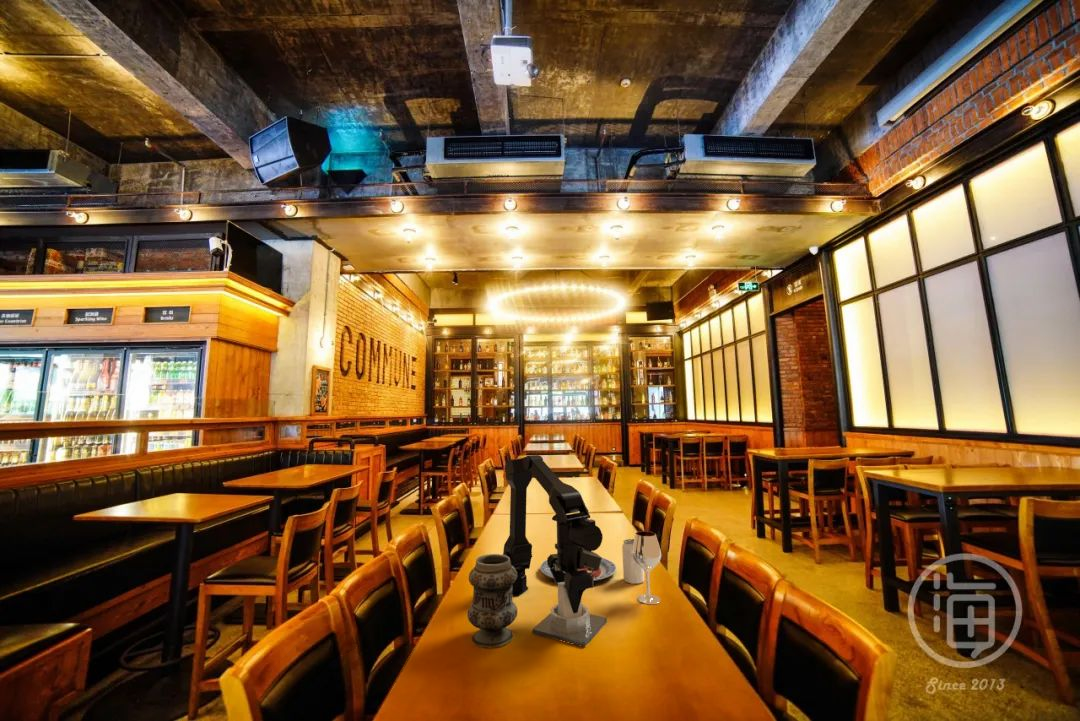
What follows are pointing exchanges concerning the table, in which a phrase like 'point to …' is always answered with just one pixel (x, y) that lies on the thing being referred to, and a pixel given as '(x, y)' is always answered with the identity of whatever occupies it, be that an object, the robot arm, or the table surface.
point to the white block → (566, 604)
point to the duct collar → (570, 626)
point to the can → (631, 564)
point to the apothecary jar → (492, 600)
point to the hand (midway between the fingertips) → (569, 606)
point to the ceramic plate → (589, 570)
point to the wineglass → (646, 559)
